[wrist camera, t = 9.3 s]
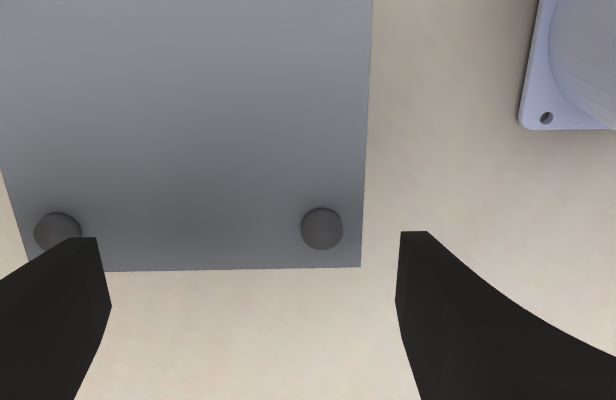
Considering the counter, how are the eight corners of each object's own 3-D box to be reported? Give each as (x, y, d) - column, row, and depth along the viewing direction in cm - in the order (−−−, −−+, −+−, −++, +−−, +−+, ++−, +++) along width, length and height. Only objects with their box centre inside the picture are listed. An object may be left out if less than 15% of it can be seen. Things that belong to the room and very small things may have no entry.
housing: (342, 172, 22) (361, 274, 16) (106, 176, 22) (26, 281, 15) (348, -98, 18) (380, -113, 11) (50, -95, 17) (-97, -110, 11)
